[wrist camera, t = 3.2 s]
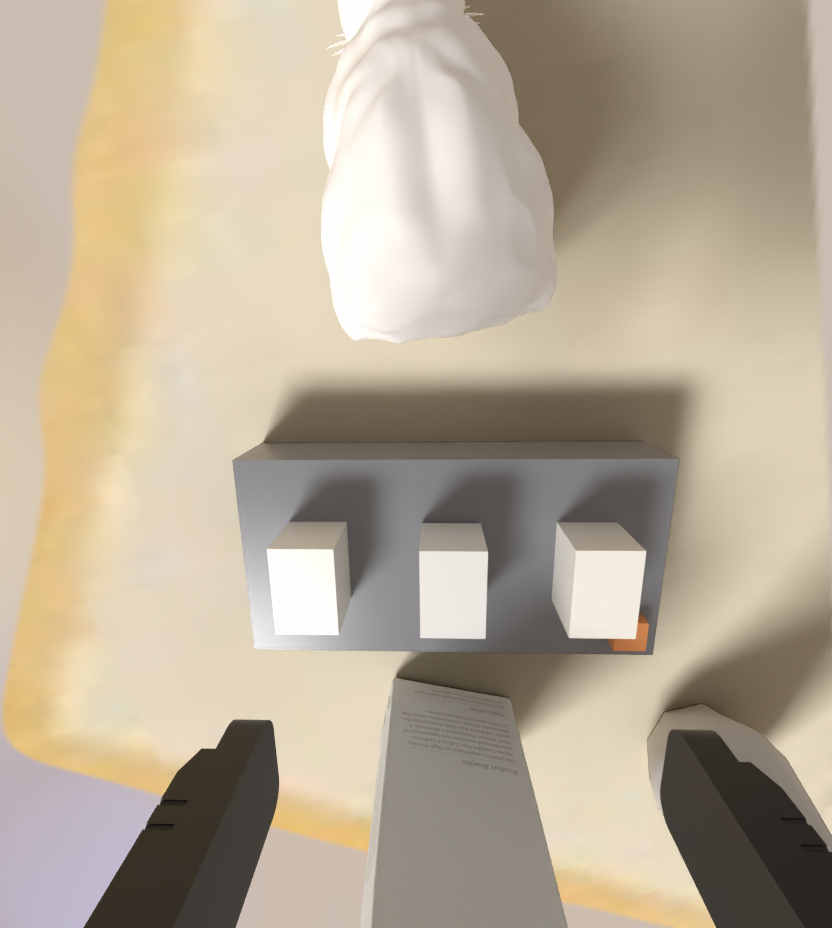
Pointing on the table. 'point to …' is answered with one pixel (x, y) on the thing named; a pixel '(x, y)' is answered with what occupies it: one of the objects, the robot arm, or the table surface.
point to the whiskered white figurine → (429, 178)
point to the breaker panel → (456, 501)
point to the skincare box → (455, 818)
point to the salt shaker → (743, 746)
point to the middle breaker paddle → (453, 581)
